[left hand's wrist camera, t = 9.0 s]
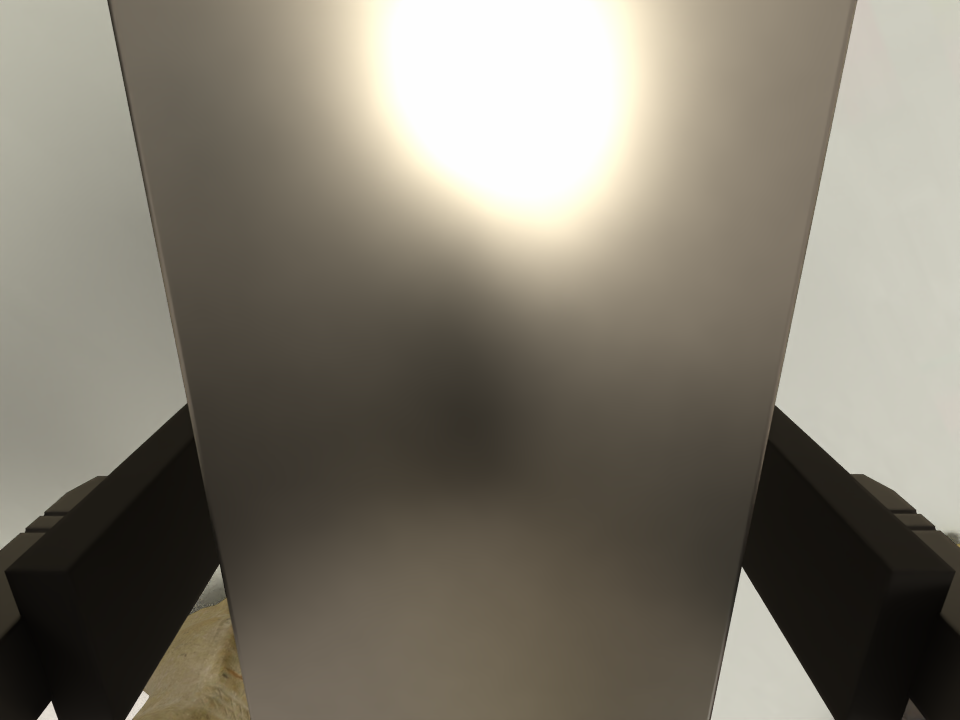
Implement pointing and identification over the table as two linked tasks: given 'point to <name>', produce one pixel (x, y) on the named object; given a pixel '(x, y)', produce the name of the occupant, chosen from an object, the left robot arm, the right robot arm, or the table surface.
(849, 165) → the table surface
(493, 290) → the bar
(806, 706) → the table surface
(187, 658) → the sculpture
